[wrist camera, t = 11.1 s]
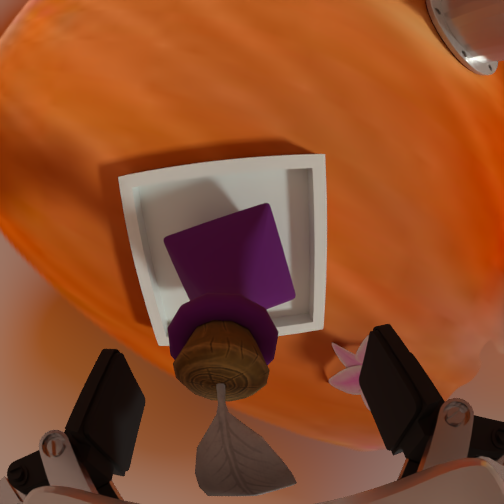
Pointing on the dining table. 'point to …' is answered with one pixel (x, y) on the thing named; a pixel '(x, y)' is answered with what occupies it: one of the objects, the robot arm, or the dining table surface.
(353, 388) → the lily
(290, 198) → the tray
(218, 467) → the perfume bottle
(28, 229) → the dining table surface
